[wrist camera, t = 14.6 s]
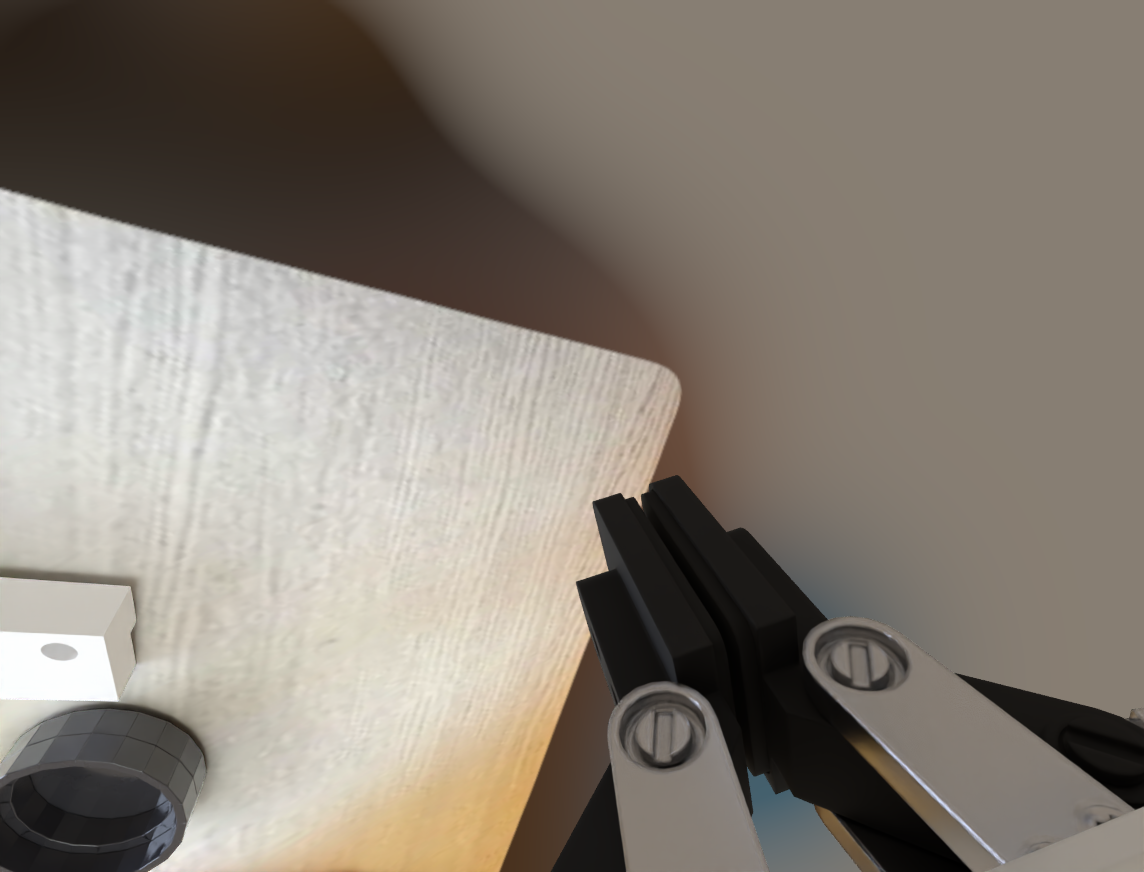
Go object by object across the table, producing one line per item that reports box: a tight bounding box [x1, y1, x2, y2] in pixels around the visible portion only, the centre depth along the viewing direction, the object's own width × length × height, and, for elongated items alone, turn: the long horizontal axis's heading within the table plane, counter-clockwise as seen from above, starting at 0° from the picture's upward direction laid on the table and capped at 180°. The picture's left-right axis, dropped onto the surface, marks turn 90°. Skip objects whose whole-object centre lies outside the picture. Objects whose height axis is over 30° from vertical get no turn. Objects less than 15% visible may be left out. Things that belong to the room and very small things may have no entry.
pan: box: [0, 708, 206, 872], centre depth 40 cm, size 12×12×4 cm
